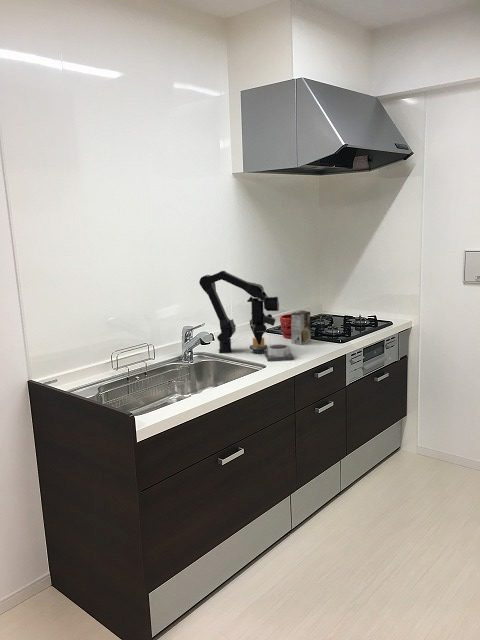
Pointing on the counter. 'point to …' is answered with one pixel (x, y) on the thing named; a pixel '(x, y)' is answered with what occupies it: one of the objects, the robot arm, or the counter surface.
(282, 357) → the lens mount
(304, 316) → the coffee box
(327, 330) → the counter surface
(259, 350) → the disc with orange block
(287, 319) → the plant pot
